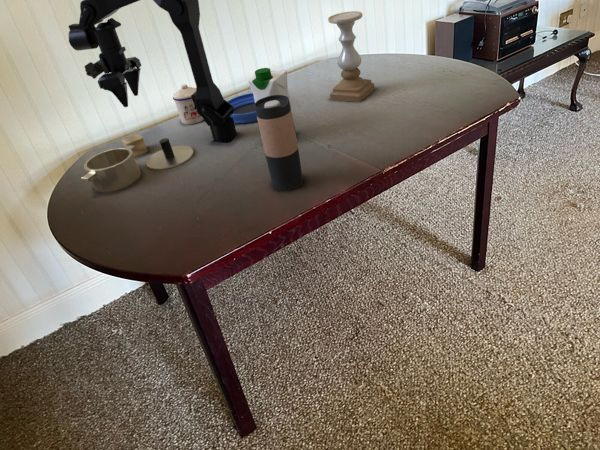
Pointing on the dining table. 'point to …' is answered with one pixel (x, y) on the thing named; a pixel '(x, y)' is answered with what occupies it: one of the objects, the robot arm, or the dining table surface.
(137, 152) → the cube
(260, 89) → the milk carton
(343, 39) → the candle holder
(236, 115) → the bowl
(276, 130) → the travel mug
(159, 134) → the dining table surface
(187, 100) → the teacup with lid
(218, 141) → the robot arm
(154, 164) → the lid
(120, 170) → the pot
